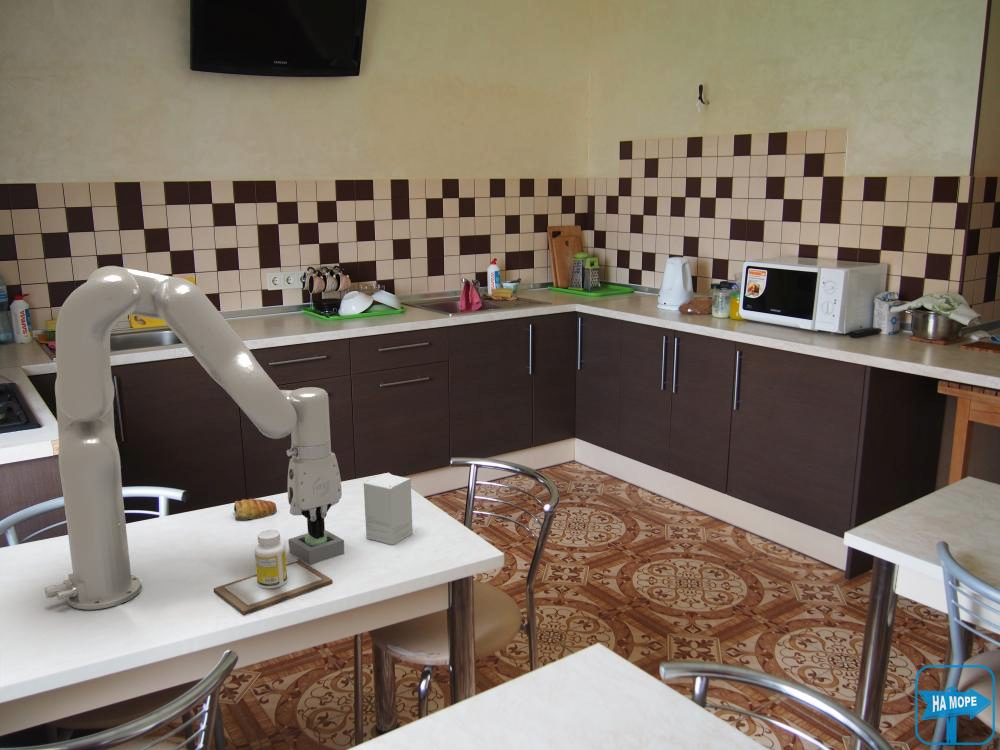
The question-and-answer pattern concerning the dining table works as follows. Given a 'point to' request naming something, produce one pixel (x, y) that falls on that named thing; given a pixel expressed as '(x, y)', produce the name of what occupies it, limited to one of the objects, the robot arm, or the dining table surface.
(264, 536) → the supplement bottle
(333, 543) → the button housing
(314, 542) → the button
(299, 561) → the board
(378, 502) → the supplement box
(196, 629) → the dining table surface
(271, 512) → the pastry
